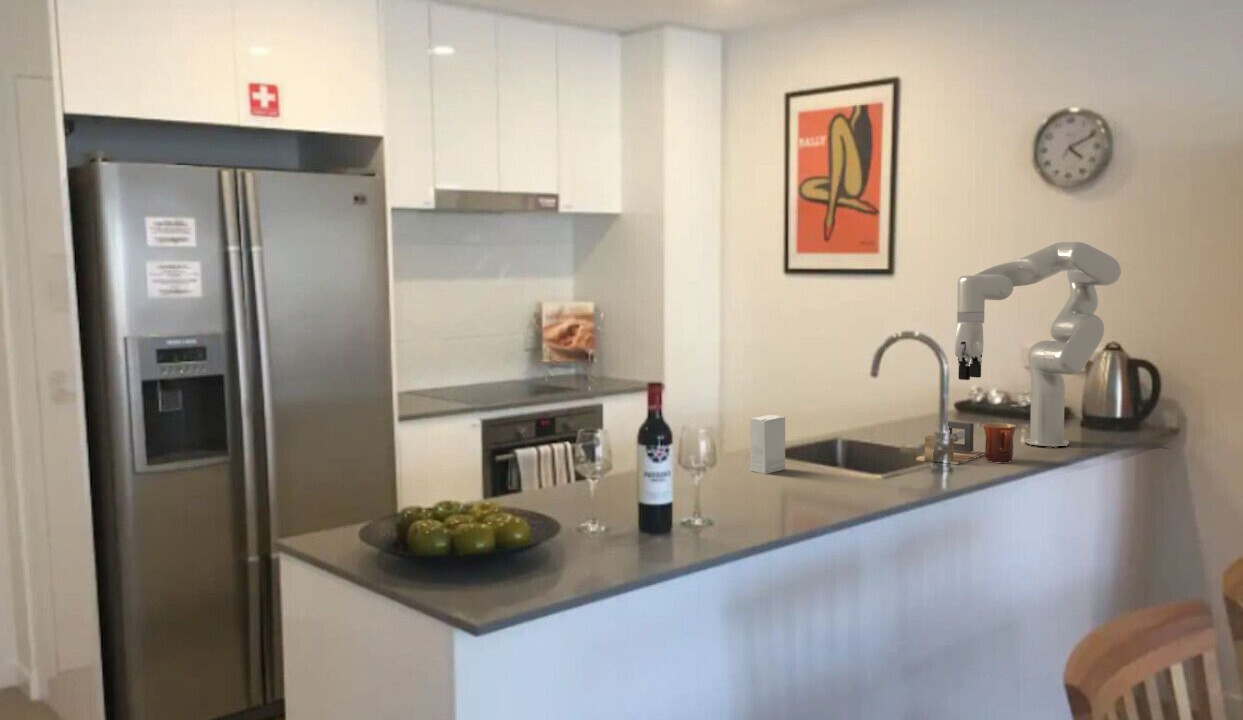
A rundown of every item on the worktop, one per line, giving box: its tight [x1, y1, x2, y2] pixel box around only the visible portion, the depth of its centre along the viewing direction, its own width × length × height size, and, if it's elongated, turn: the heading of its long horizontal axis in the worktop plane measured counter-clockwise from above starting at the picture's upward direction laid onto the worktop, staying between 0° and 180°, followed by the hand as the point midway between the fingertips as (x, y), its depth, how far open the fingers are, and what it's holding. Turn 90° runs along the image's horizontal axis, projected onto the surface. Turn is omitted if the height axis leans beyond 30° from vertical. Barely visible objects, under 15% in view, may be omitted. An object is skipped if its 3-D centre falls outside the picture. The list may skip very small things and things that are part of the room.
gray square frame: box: [947, 420, 975, 452], centre depth 305 cm, size 2×8×8 cm, turn 49°
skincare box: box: [749, 414, 786, 475], centre depth 285 cm, size 8×6×15 cm
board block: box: [915, 435, 985, 464], centre depth 302 cm, size 20×12×7 cm, turn 139°
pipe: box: [950, 429, 965, 443], centre depth 302 cm, size 18×3×3 cm, turn 139°
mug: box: [982, 422, 1017, 463], centre depth 293 cm, size 12×9×10 cm
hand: (969, 378), depth 309 cm, fingers open, 7 cm apart
